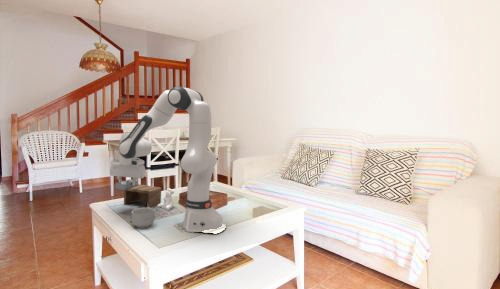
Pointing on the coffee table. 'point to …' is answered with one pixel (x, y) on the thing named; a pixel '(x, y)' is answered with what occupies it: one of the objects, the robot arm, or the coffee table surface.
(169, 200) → the seated beast figurine
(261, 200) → the coffee table surface
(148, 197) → the wooden plank crate
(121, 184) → the tray
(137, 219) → the teacup
